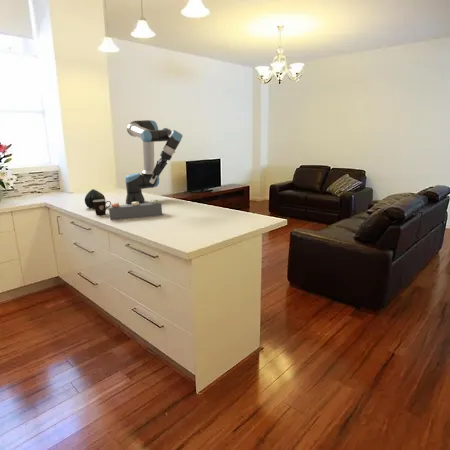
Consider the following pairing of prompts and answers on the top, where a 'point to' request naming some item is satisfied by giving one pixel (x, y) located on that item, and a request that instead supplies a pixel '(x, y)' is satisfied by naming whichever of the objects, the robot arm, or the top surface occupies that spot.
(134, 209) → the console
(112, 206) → the button terracotta
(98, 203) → the coffee mug
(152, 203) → the button sage
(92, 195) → the squash
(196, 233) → the top surface
